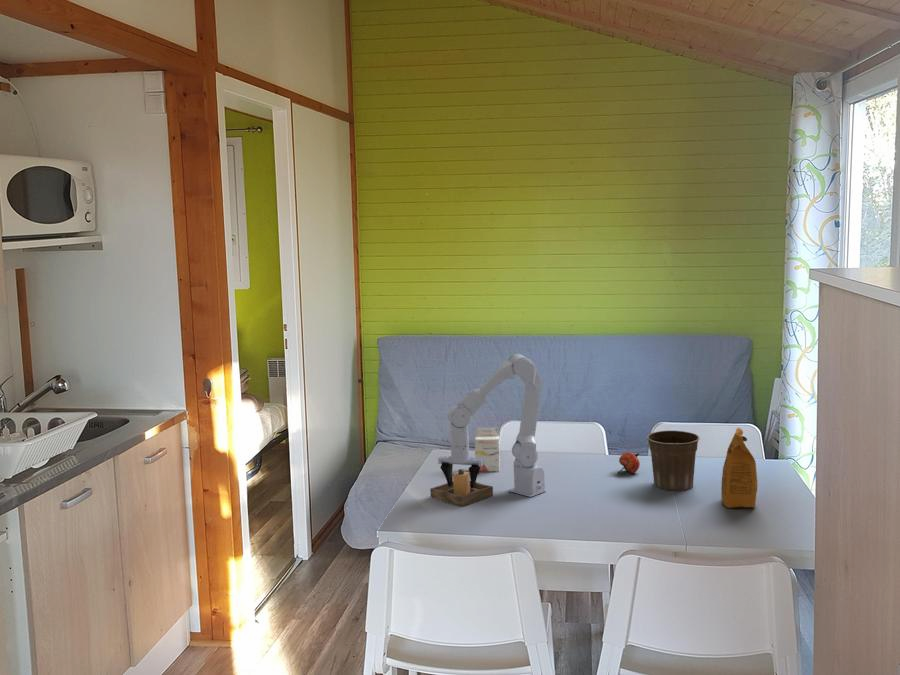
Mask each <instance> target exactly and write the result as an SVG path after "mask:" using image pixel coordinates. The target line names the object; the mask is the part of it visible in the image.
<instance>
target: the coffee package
mask: <svg viewBox="0 0 900 675" xmlns="http://www.w3.org/2000/svg"><path fill="white" fill-rule="evenodd" d="M734 432H735V433H734V434H733V436H732V439H731V441H730V443H729V445H728V447H727V451H726V456H725V459H724V463H723V467H722V474H721V475H722V476H721V489H720V490H721V494H720V495H721V501H722V503H723V505H724V506H725V508H728V509H733V508H735V509H736V508H755V507H756V501H757V492H758V473H757V464H756V463H757V462H756V460H755V458H754V455H753V454H752V453H751V451H750V449H749V448H748V447H747V446H746V444H745V442H747V441H748V439H747V437H746V436H744V435H743V433H744V430H742V429H741V427H737V428H736V429H735V431H734Z"/></svg>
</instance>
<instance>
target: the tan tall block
mask: <svg viewBox="0 0 900 675" xmlns="http://www.w3.org/2000/svg"><path fill="white" fill-rule="evenodd" d="M452 479H453V484H454V494H458V495H461V496H462V495H465V494H468V493H470V481H471V479H470V472H469V471H465V469H463V468H461V469H460V468H459V469H458V470H457V471H456V472H455V473H454V474H452Z"/></svg>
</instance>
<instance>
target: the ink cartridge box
mask: <svg viewBox="0 0 900 675" xmlns="http://www.w3.org/2000/svg"><path fill="white" fill-rule="evenodd" d="M499 430H500V429H499V427H476V428H475V439H474V453H475V454H474V458H478V459H483V466H481V468H480V470H479V472H489V471H490V472H491V471H496V472H497V471H498V472H500V470H501V453H500V449H501V448H500V445H501V444H500V434H499ZM488 431H489V432H488Z"/></svg>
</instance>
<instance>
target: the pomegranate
mask: <svg viewBox="0 0 900 675" xmlns="http://www.w3.org/2000/svg"><path fill="white" fill-rule="evenodd" d="M639 456H640V453H639V452H637V453H635V454H634V453H632V452H624V453H622V454H621V456H619V458H618V462H619V464H620V465H622V466H623V467H622V468H621V469H620V470H619V471H617V474H618V475H619V473H621V472H622V471H623V470H625V471H626V472H628V473H630V474H635V473H636V472H638V470H639V469H640V466H641V465H640V464H641V462H640V459H639Z"/></svg>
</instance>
